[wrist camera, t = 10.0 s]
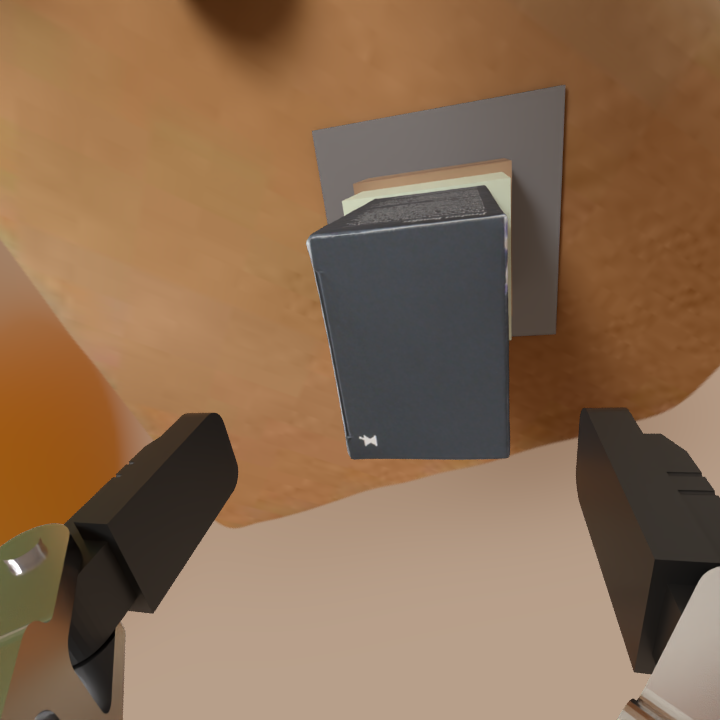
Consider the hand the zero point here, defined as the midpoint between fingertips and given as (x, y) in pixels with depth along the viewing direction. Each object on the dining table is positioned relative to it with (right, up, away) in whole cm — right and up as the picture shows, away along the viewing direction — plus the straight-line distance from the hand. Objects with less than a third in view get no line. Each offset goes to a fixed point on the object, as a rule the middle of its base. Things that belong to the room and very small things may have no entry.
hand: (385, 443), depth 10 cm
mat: (+5, +11, +22) cm, 25 cm away
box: (+3, +7, +13) cm, 15 cm away
